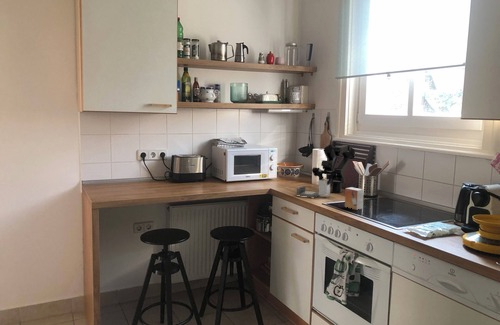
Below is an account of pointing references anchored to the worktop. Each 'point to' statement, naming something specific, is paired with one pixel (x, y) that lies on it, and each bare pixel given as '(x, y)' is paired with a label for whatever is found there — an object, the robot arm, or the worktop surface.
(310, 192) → the press bed
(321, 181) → the housing
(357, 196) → the small box
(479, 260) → the worktop surface
